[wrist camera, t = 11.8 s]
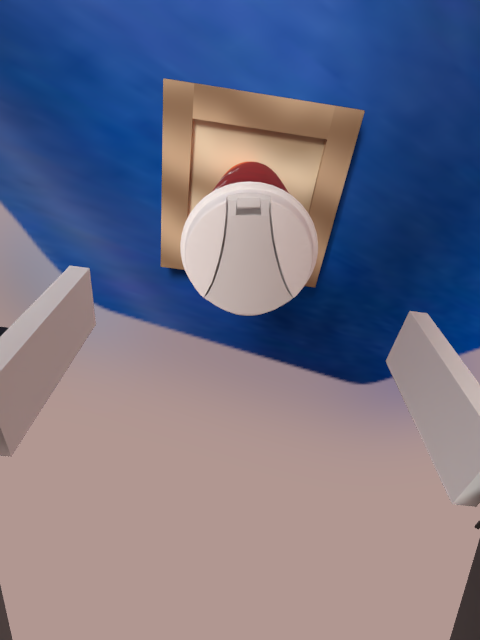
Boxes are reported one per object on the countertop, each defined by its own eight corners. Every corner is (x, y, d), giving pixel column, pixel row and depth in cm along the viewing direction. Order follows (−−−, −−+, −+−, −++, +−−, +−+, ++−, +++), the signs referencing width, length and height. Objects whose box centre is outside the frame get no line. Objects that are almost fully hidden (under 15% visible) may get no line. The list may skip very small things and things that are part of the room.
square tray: (168, 79, 30) (163, 78, 28) (358, 109, 30) (364, 110, 29) (165, 258, 38) (160, 266, 36) (312, 278, 39) (315, 287, 37)
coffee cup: (202, 147, 31) (167, 188, 18) (298, 146, 31) (330, 187, 18) (208, 240, 35) (183, 324, 23) (292, 240, 35) (313, 325, 23)
